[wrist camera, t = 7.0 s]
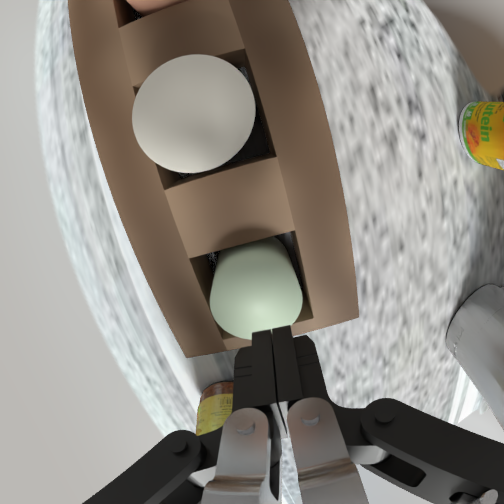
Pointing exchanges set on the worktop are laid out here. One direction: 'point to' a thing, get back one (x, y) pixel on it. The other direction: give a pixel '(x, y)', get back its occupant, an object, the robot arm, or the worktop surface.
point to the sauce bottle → (214, 407)
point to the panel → (224, 177)
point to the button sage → (255, 288)
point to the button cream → (193, 113)
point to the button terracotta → (152, 5)
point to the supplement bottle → (483, 132)
